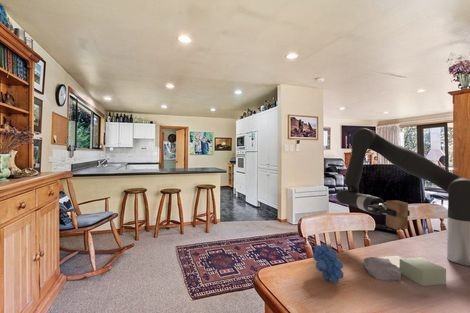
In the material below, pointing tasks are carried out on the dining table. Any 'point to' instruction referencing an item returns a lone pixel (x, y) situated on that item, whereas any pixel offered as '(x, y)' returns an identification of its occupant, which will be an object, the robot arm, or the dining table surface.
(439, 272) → the green stand
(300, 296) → the dining table surface
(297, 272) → the dining table surface
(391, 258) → the cream flat slab
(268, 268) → the dining table surface
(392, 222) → the walnut block
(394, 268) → the stone block
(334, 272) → the grapes
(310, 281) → the dining table surface
